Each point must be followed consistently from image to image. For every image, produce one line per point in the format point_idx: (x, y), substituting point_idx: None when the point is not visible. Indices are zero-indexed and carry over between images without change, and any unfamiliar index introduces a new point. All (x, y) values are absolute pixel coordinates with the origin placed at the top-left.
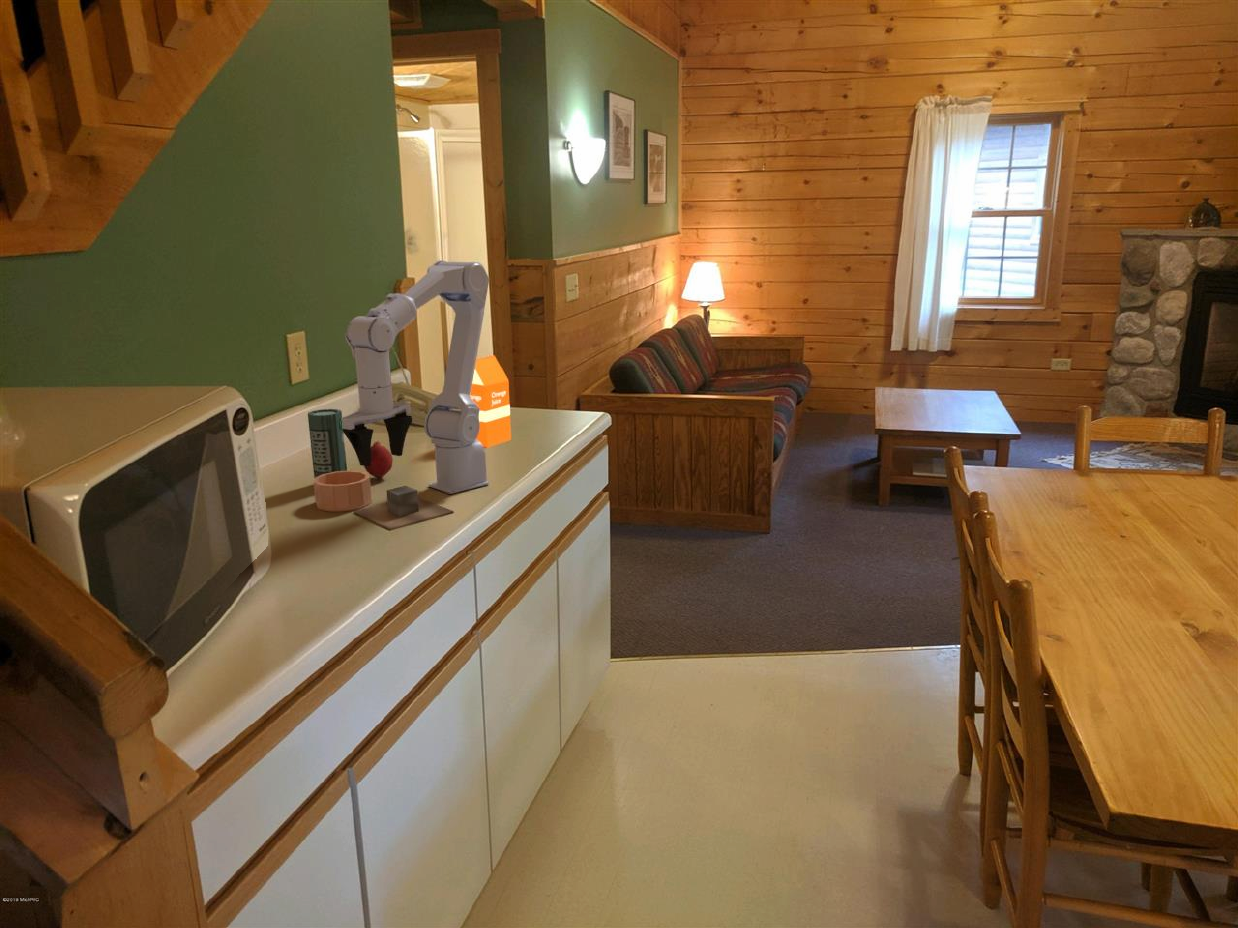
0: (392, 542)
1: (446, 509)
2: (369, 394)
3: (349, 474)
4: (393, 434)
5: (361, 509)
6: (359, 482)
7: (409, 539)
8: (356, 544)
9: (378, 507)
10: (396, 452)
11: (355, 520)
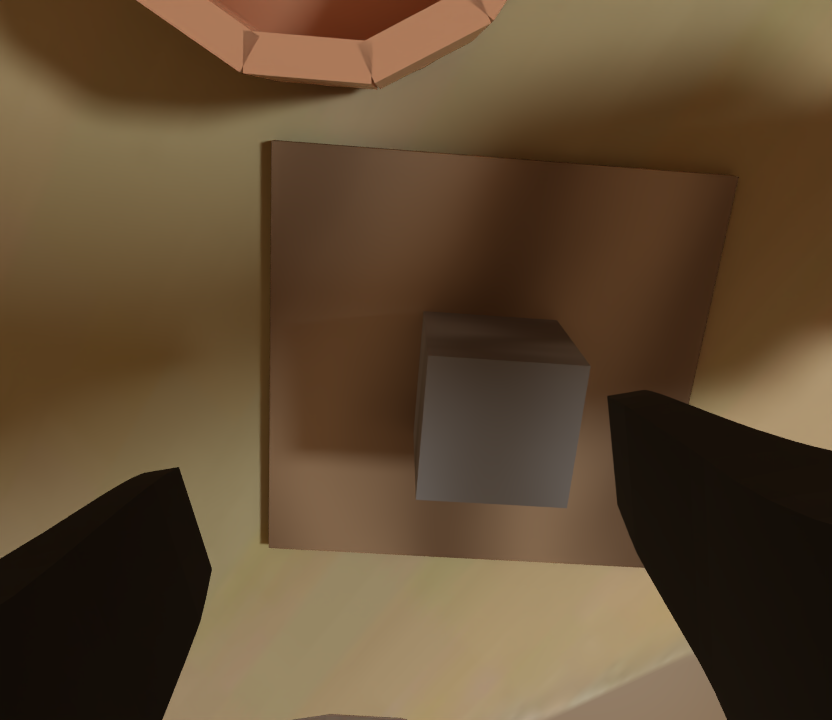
0: (190, 670)
1: None
2: None
3: None
4: (722, 587)
5: (327, 148)
6: (353, 80)
7: (267, 690)
8: None
9: (426, 201)
10: (624, 484)
11: (212, 275)
